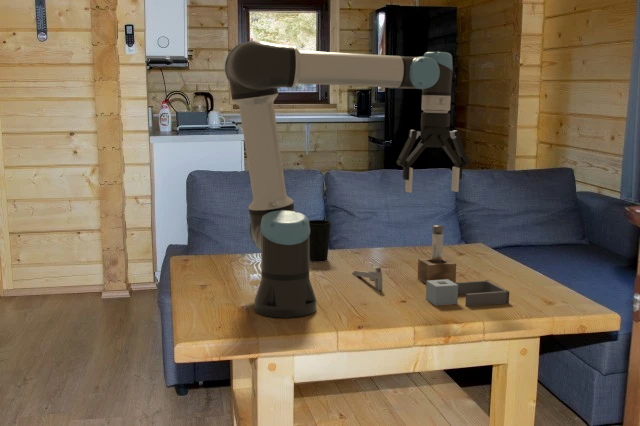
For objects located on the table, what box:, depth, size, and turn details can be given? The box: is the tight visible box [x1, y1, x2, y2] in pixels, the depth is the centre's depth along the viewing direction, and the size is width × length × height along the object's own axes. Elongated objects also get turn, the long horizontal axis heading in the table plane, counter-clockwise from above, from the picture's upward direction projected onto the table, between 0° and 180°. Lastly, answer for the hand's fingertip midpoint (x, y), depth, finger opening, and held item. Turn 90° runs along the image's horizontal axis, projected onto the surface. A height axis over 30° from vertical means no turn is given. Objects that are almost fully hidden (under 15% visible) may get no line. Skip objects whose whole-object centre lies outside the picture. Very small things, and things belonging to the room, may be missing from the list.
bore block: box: [417, 257, 457, 285], centre depth 214 cm, size 8×8×6 cm
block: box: [425, 279, 459, 306], centre depth 195 cm, size 6×6×5 cm
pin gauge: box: [431, 224, 445, 263], centre depth 214 cm, size 3×3×15 cm
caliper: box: [352, 267, 383, 292], centre depth 213 cm, size 20×1×6 cm, turn 18°
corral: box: [455, 279, 510, 307], centre depth 197 cm, size 12×12×3 cm
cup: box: [309, 219, 332, 263], centre depth 240 cm, size 8×8×12 cm
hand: (431, 191), depth 206 cm, fingers open, 13 cm apart
